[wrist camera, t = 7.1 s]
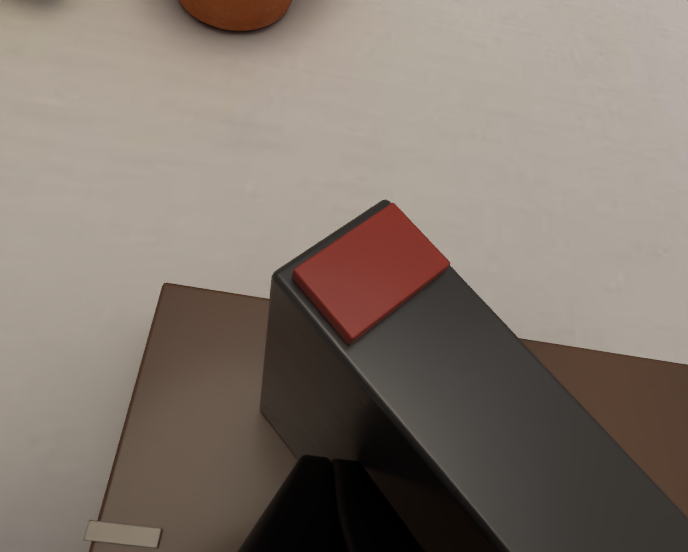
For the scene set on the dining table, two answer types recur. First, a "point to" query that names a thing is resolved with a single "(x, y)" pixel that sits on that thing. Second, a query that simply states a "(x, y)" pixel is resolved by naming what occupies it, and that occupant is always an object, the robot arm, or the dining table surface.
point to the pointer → (445, 404)
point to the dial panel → (271, 450)
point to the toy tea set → (237, 12)
